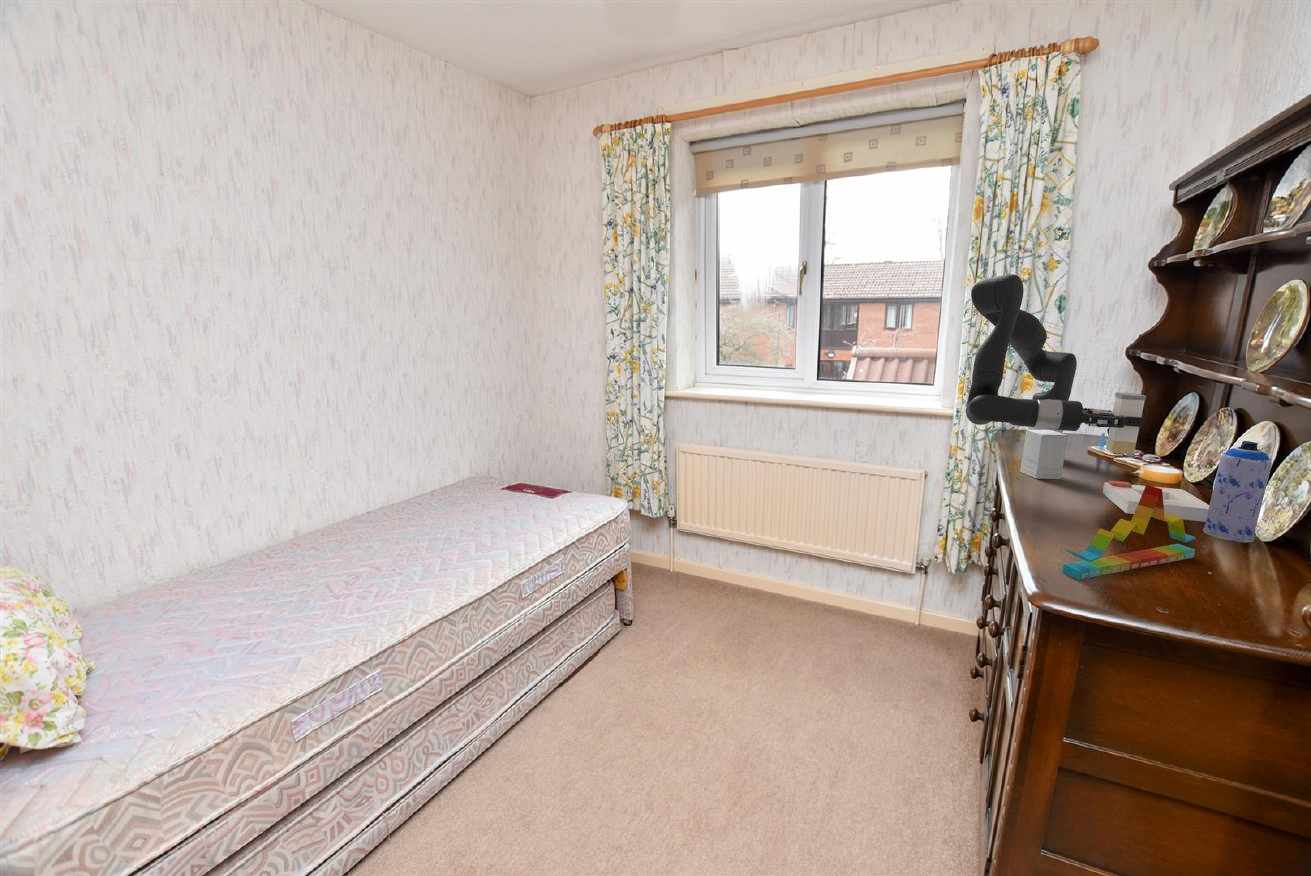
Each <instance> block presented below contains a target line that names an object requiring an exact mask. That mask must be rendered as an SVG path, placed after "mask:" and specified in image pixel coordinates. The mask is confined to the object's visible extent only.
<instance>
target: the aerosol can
mask: <svg viewBox="0 0 1311 876" xmlns="http://www.w3.org/2000/svg"><path fill="white" fill-rule="evenodd" d="M1258 444H1259V443H1258V442H1254V441H1250V440H1242V442H1241V445H1240V446H1236V447H1234V448H1230V449H1228V450H1226V452H1225V451H1224V452H1222V453H1221V456H1220V457H1219V463H1218V466H1217V467H1218V468H1217V472H1216V475H1215V476H1216V477H1215V479H1214V484H1213V488H1212V492H1211V497H1210V501H1209V505H1210V506H1209V510H1208V514H1207V519H1206V522H1204V523H1205V524H1204V527H1203V528H1202V532H1203V533H1205V534H1206V535H1208V536H1211V537H1213V538H1218V539H1221V540H1225V541H1230V542H1235V543H1236V542H1237V543H1253V542H1255V537H1254V536H1255V533H1256V529H1257V524H1258V522H1259V518H1260V513H1261V511H1262V510H1261V509H1262V506H1263V502H1264V497H1265V493H1266V489H1267V486H1268V480H1269V477H1270V473H1271V470H1272V464H1273V463H1272V461H1273V460H1272V459H1271V458H1270V457H1269V455H1268V454H1267V453H1266V452H1264V451H1262V450H1261V449H1259V448H1258Z"/></svg>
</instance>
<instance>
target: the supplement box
mask: <svg viewBox="0 0 1311 876" xmlns="http://www.w3.org/2000/svg"><path fill="white" fill-rule="evenodd" d="M1068 437H1069V434H1065V433H1064V432H1063V433H1059V432H1056V431H1053V430H1028V429H1026V432H1025V438H1024V445H1023V451H1022V457H1021V464H1020V471H1019V472H1020V473H1022V474H1024V475H1027V476H1029V477H1031V478H1034V479H1035V480H1036V479H1037V480H1038V479H1040V480H1043V479H1044V480H1061V479H1062V474H1063V469H1064V461H1065V457H1066V449H1067V443H1068Z"/></svg>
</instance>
